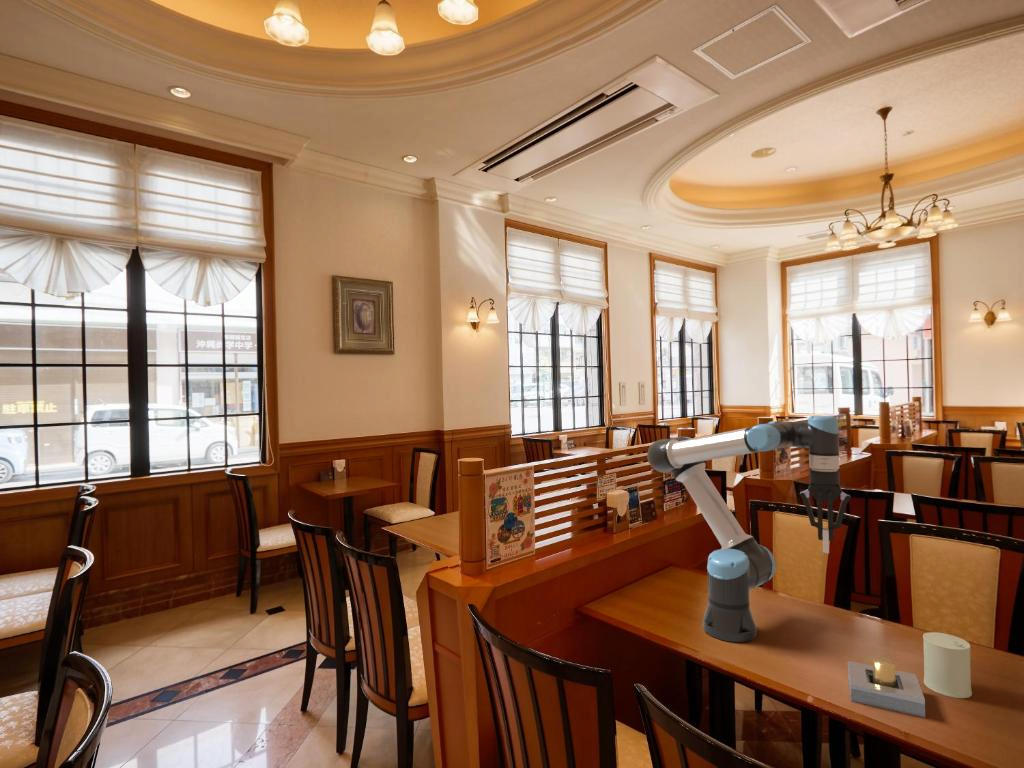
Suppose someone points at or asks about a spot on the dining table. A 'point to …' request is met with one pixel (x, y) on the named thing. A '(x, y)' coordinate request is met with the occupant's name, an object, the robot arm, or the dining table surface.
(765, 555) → the robot arm
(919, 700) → the block
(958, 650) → the can
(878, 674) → the golden yellow cylinder
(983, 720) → the dining table surface
